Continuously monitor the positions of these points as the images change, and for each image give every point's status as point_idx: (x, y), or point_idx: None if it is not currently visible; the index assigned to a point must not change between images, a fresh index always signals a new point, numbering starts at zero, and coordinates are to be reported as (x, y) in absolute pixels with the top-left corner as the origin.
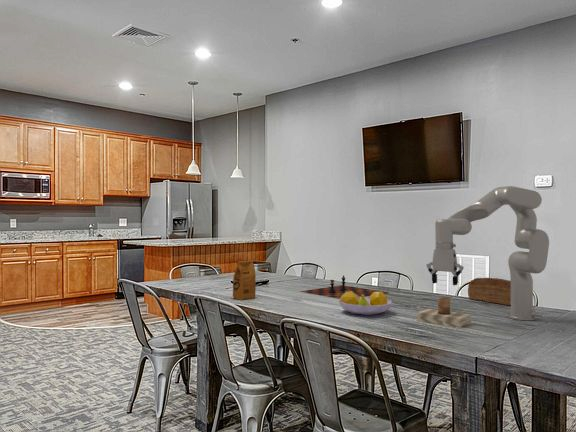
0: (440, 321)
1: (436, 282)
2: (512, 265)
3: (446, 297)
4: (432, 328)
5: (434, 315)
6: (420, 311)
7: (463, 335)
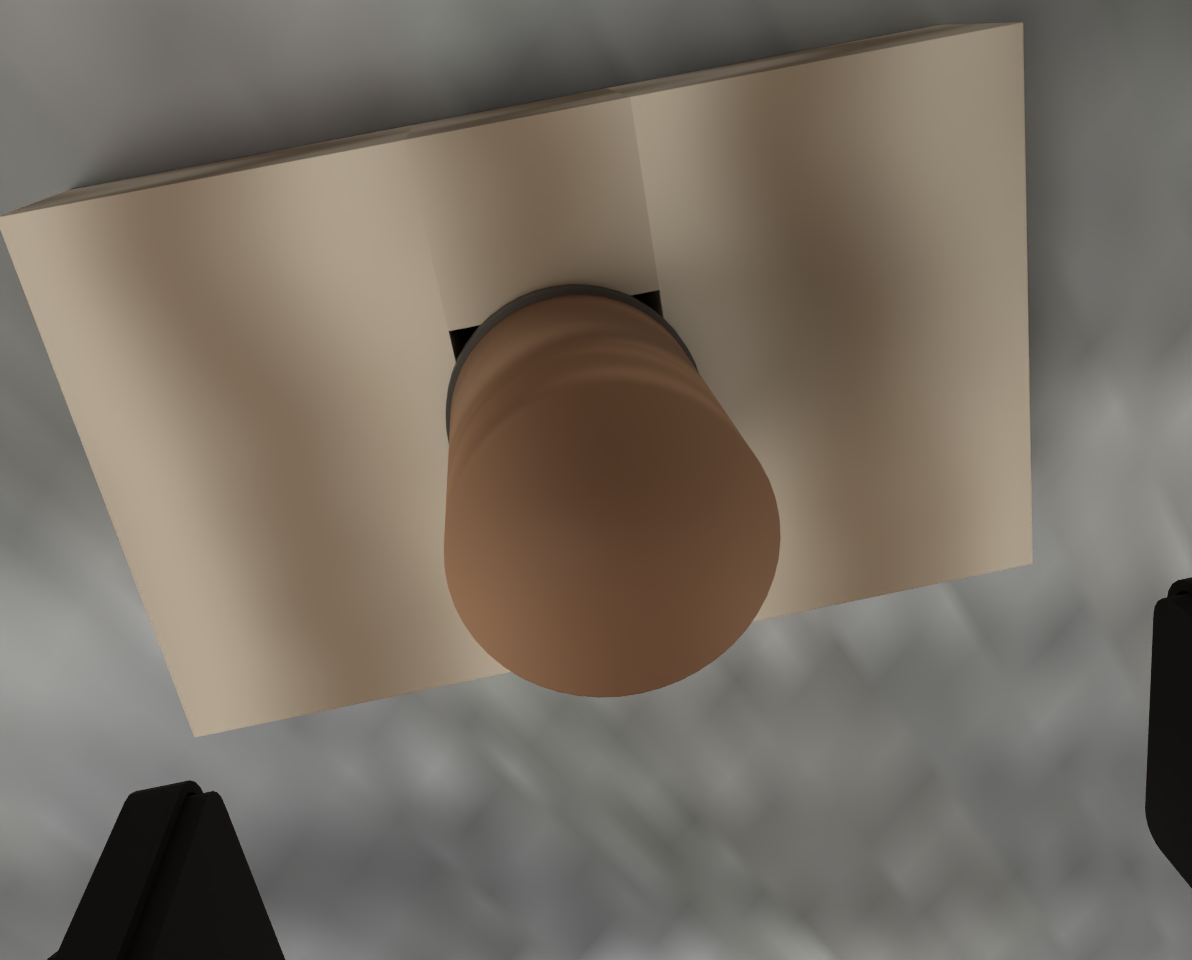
0: None
1: (233, 838)
2: None
3: (601, 422)
4: (714, 816)
5: None
6: (171, 643)
7: None
